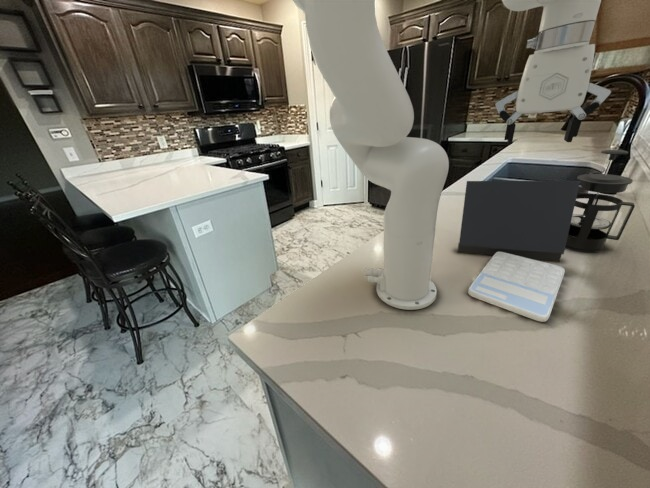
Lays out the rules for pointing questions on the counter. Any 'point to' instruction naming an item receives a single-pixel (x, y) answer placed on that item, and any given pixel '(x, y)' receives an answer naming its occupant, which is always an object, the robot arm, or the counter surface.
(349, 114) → the robot arm
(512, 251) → the hinge strip
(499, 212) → the cover
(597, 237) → the french press
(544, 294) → the calculator
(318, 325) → the counter surface
